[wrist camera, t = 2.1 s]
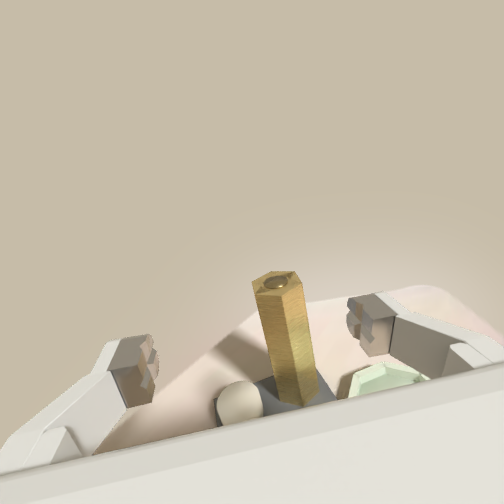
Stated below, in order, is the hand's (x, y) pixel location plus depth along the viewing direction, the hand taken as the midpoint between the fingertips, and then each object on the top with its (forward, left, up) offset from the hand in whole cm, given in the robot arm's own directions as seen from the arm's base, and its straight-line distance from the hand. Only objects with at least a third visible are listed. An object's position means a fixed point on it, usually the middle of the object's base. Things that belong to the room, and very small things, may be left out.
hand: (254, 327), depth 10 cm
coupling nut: (+11, -4, -17) cm, 21 cm away
